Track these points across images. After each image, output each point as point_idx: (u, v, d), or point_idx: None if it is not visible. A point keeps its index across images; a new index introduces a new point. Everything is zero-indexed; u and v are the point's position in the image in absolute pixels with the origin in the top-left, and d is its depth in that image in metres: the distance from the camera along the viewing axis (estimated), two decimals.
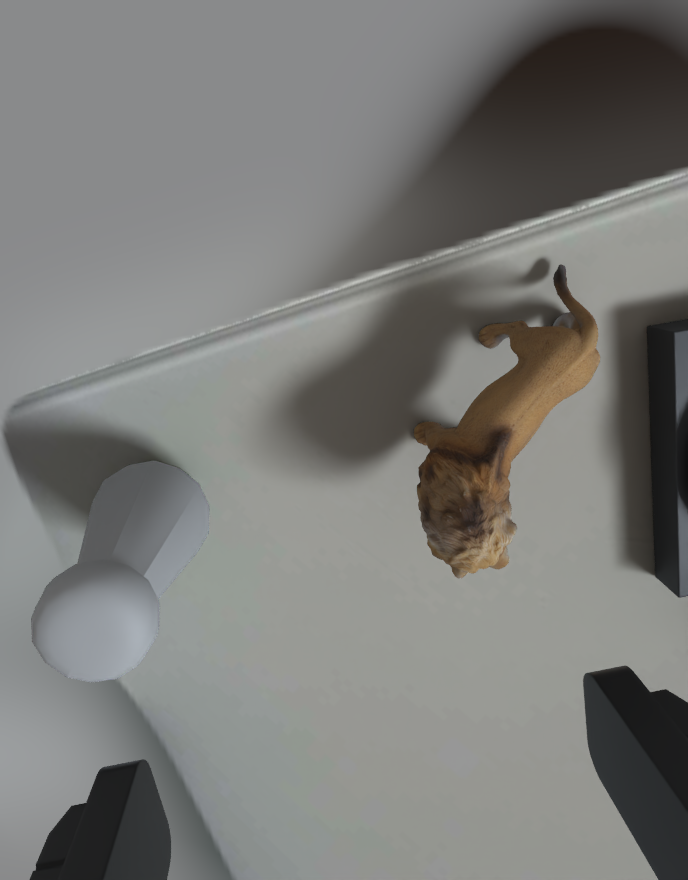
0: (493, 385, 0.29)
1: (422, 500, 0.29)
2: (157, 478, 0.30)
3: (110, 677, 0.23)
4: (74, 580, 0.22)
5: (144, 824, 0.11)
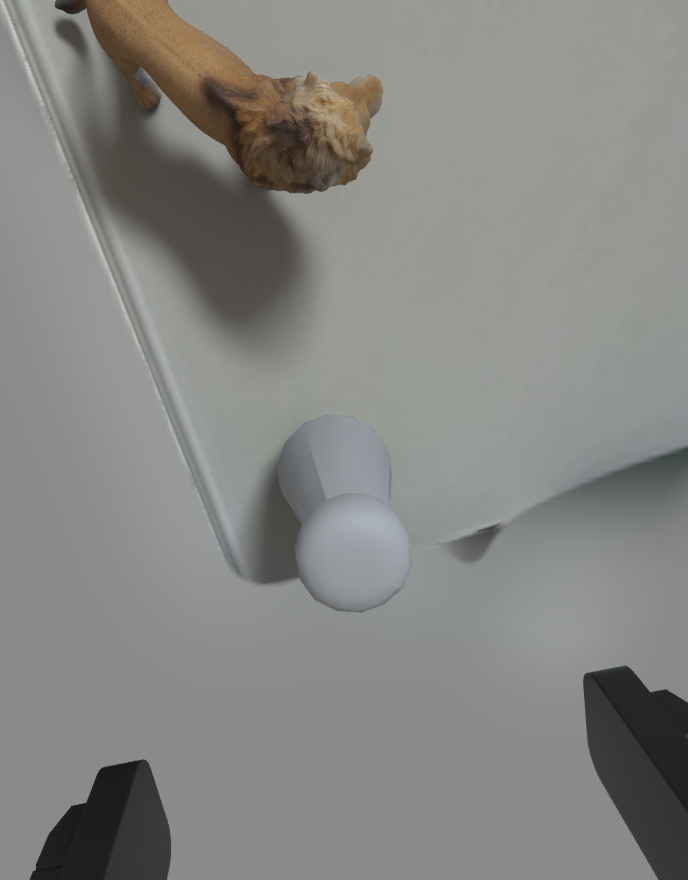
0: None
1: (295, 190, 0.25)
2: (284, 465, 0.31)
3: (402, 550, 0.22)
4: (299, 571, 0.23)
5: (144, 823, 0.11)
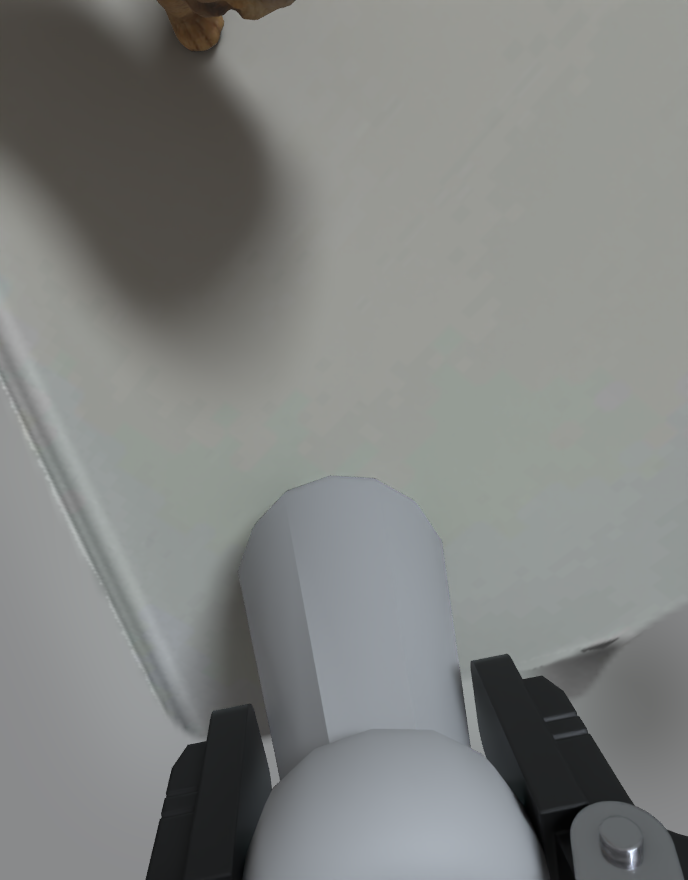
0: None
1: None
2: (249, 576, 0.16)
3: None
4: None
5: (256, 761, 0.11)
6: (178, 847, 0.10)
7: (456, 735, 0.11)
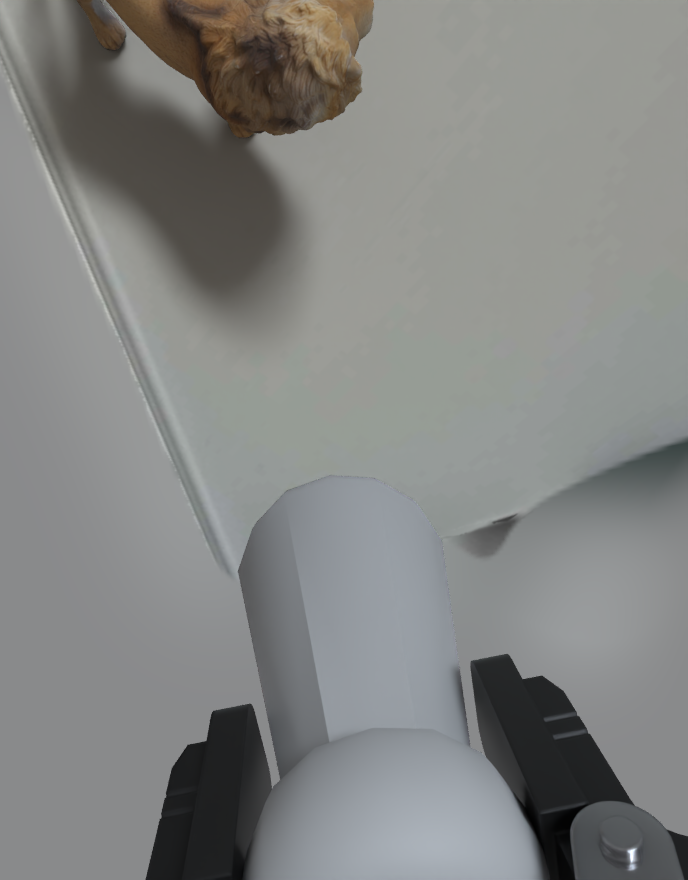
0: None
1: (275, 128, 0.22)
2: (249, 576, 0.16)
3: None
4: None
5: (256, 761, 0.11)
6: (177, 846, 0.10)
7: (456, 734, 0.11)
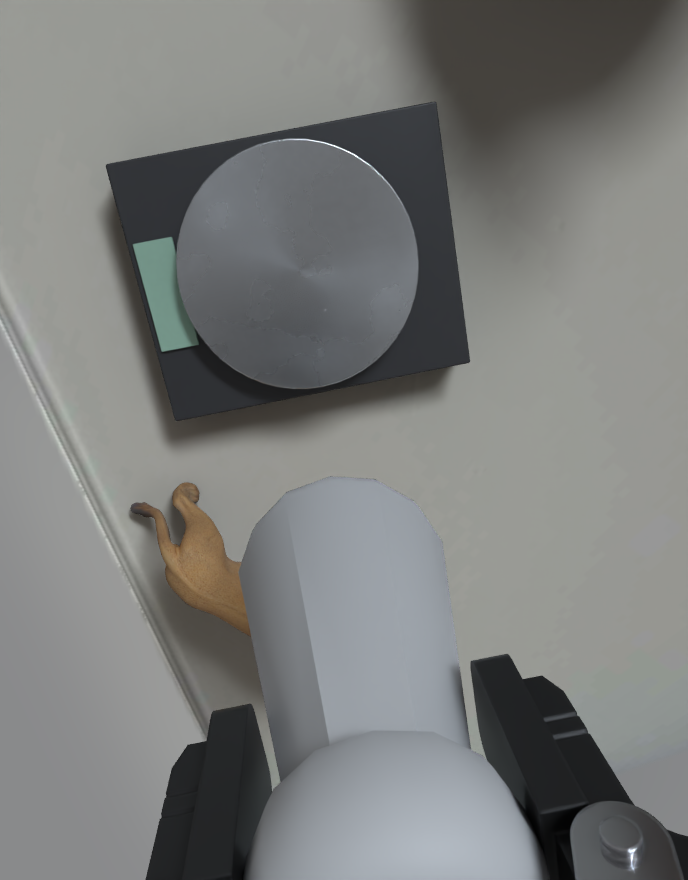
0: None
1: None
2: (249, 577, 0.16)
3: None
4: None
5: (256, 761, 0.11)
6: (177, 847, 0.10)
7: (456, 737, 0.11)
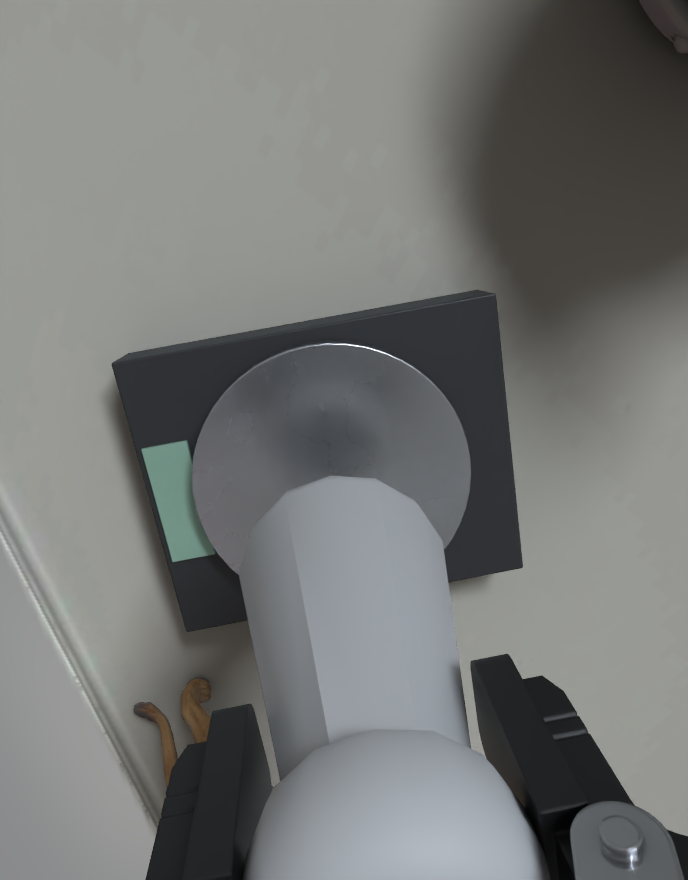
0: None
1: None
2: (249, 576, 0.16)
3: None
4: None
5: (256, 761, 0.11)
6: (178, 846, 0.10)
7: (456, 736, 0.11)
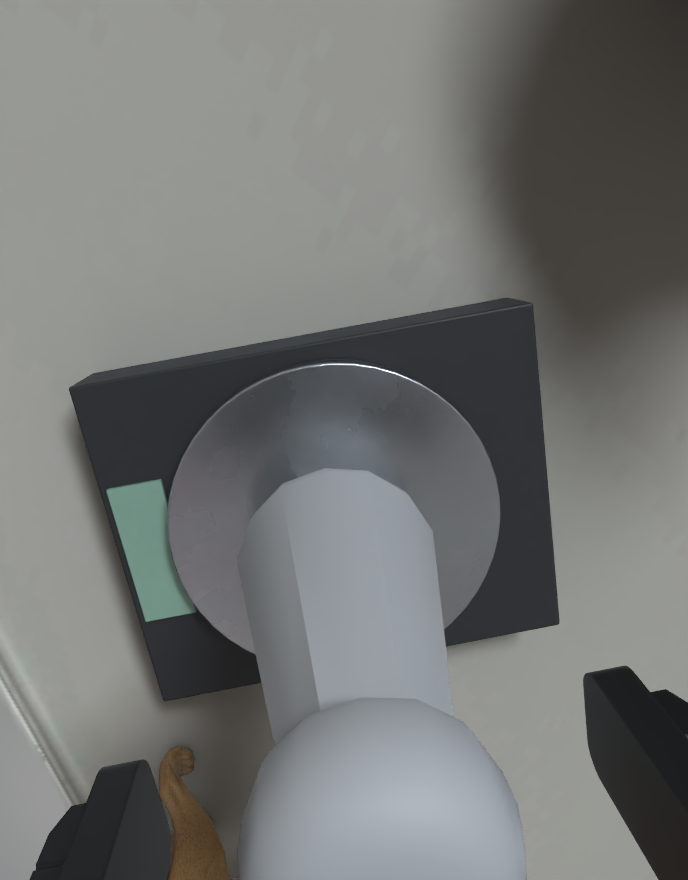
0: None
1: None
2: (247, 564, 0.17)
3: (510, 875, 0.09)
4: None
5: (145, 823, 0.11)
6: None
7: (440, 707, 0.12)
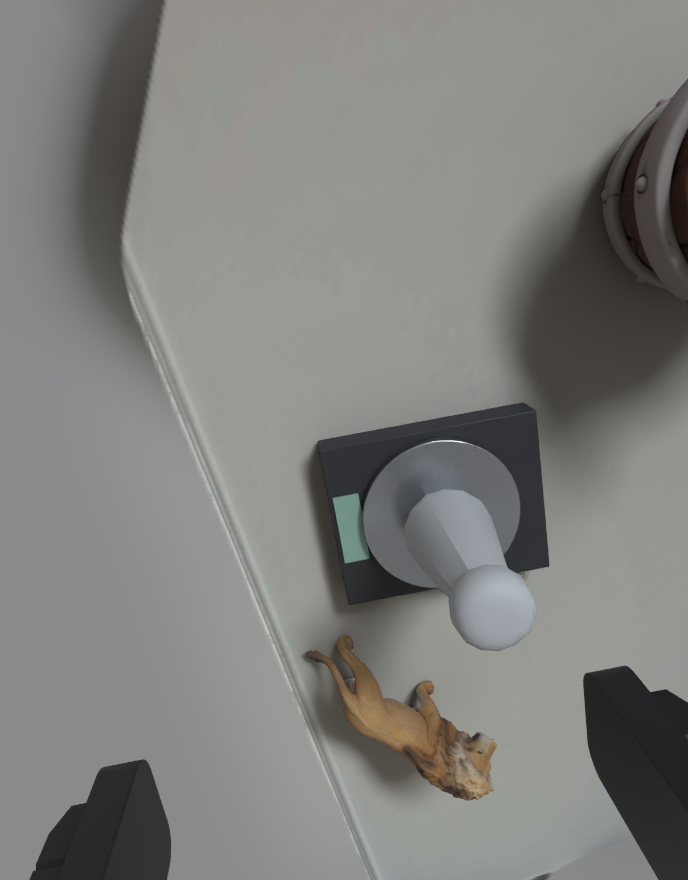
0: None
1: None
2: (414, 531, 0.40)
3: (531, 607, 0.32)
4: (456, 622, 0.32)
5: (144, 824, 0.11)
6: None
7: None
